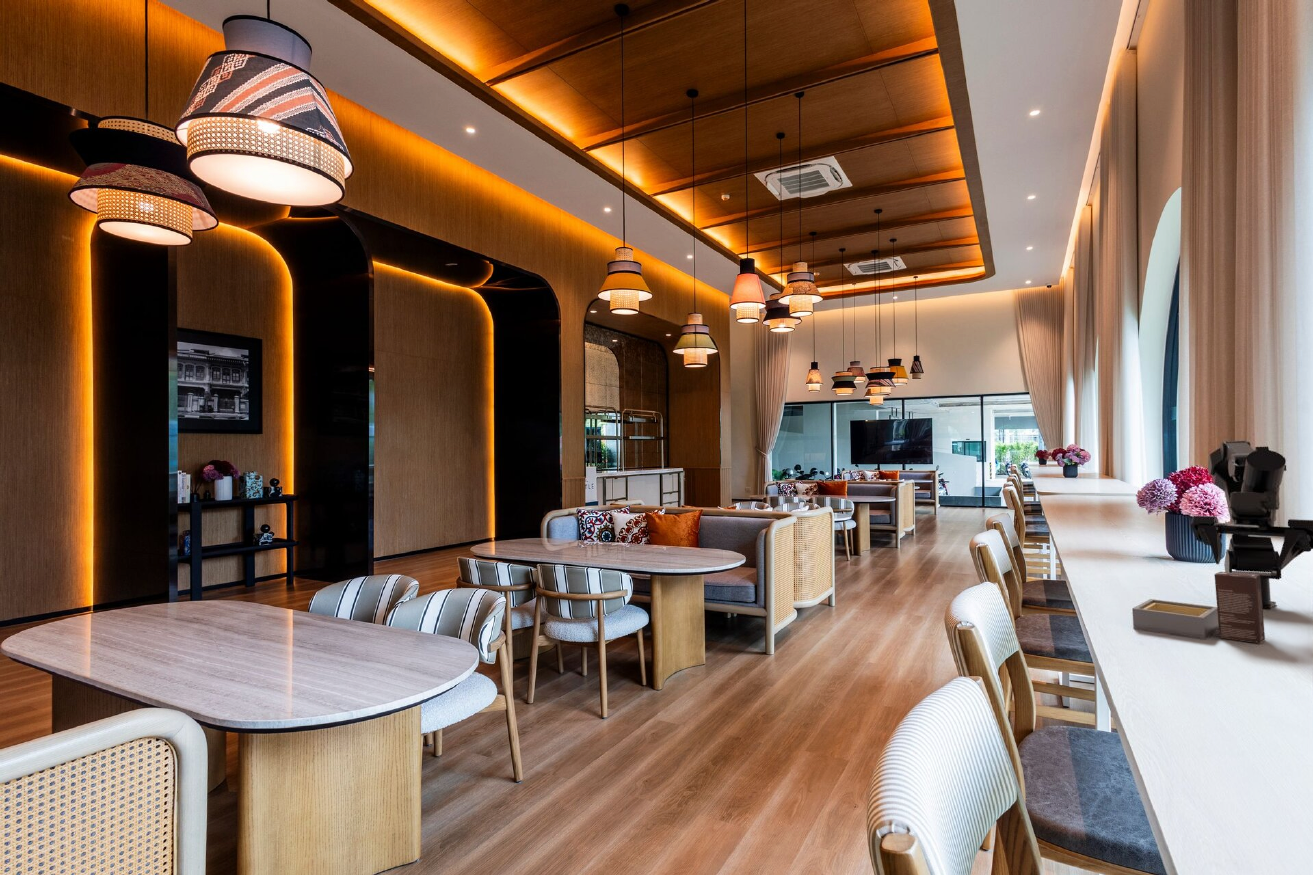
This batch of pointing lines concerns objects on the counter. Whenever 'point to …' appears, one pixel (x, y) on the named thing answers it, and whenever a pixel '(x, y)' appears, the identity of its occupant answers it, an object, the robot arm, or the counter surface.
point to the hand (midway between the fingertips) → (1247, 565)
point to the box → (1239, 606)
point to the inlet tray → (1176, 618)
